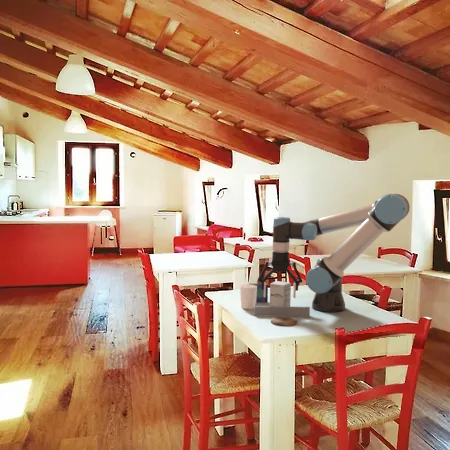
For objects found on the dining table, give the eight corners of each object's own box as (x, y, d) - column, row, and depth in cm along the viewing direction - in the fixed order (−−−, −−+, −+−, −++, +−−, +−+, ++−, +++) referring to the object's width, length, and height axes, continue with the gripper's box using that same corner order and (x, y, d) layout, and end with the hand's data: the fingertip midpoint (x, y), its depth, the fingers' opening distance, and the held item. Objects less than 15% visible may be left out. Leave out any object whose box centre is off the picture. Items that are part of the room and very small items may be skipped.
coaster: (299, 320, 211) (299, 318, 211) (293, 327, 201) (293, 325, 201) (274, 317, 215) (274, 315, 215) (267, 324, 205) (267, 322, 205)
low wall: (309, 315, 218) (309, 306, 218) (309, 316, 217) (309, 307, 217) (254, 314, 219) (254, 306, 219) (254, 315, 218) (254, 306, 217)
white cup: (255, 309, 228) (255, 288, 227) (238, 309, 229) (238, 287, 229) (258, 305, 236) (258, 285, 235) (241, 304, 237) (241, 284, 236)
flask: (248, 301, 243) (248, 280, 242) (249, 300, 246) (249, 279, 245) (267, 303, 241) (267, 281, 240) (268, 301, 244) (268, 280, 243)
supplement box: (268, 310, 227) (269, 283, 226) (276, 307, 233) (277, 280, 232) (283, 312, 223) (283, 285, 222) (290, 309, 229) (291, 282, 228)
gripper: (307, 250, 229) (305, 295, 231) (253, 249, 230) (251, 294, 232) (309, 253, 222) (307, 299, 224) (253, 251, 222) (252, 298, 224)
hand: (279, 297), depth 228 cm, fingers open, 13 cm apart
